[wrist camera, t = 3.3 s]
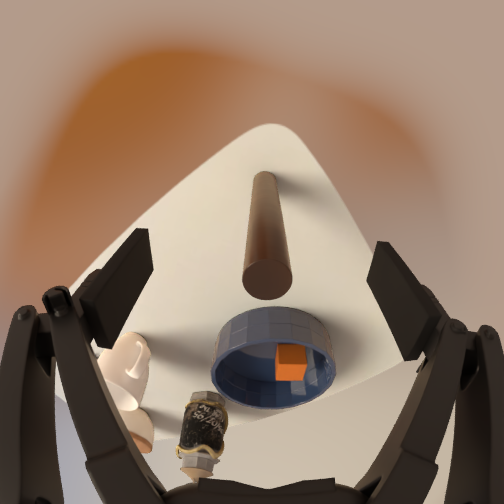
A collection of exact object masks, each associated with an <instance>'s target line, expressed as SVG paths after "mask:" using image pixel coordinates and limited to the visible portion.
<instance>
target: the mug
mask: <svg viewBox="0 0 504 504" xmlns="http://www.w3.org/2000/svg"><path fill="white" fill-rule="evenodd" d="M150 356H151V352H150V350H149V348H148V347H147V342H146V340H145V339H144V338H143V337H142V336H140V335H139V334H137V333H133V332H128V333H125V334H124V335H123V336H121V337H120V338H119V339H117V340H116V342H115V344H114V346H113V348H112V350H111V349H105V350H104V351H103V352H102V354H101V355H100V356H99V358H98V360H97V362H98V365H99V367H100V370H101V373H102V375H103V377H104V380H105V382H106V385H107V387H108V389H109V392H110V394H111V396H112V398H113V400H114V403H115V405H116V407H117V409H121V410H126V411H132V410H136V409H137V408H138V407H139V406H140V404H141V401H142V398H143V395H144V391H145V388H146V385H147V382H148V376H149V360H150Z"/></svg>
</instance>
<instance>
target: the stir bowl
mask: <svg viewBox="0 0 504 504" xmlns="http://www.w3.org/2000/svg"><path fill="white" fill-rule="evenodd" d="M278 344H300V345H304V346H305V351H306V358H307V367H306V371H305V374H304V377H303V380H302V381H280V380H276V376H275V358H276V352H277V346H278ZM335 376H336V368H335V361H334V356H333V352H332V347H331V343H330V338H329V335H328V333H327V331H326V329H325V327H324V326H323V325H322V324H321V322H320V321H318V320H317V319H316V318H315V317H313V316H311V315H310V314H308V313H305V312H303V311H300V310H297V309H293V308H288V307H262V308H257V309H253V310H250V311H246V312H244V313H242V314H239V315H238V316H236V317H234V318H233V319H231V320H230V321H229V322H227V323H226V324H225V325H224V326H223V328H222V329H221V331H220V332H219V335H218V337H217V341H216V343H215V349H214V354H213V360H212V366H211V379H212V383H213V384H214V386H215V387H216V389H217V390H218V392H220V393H221V394H222V395H224V396H225V397H226V398H228V399H229V400H231V401H233V402H236V403H238V404H241V405H243V406H247V407H252V408H257V409H284V408H291V407H295V406H298V405H301V404H304V403H307V402H310V401H312V400H313V399H315V398H317V397H319V396H320V395H322V394H323V393H324V392H325V391H326V390H327V389H328V388H329V387H330V386H331V385H332V382H333V380H334V378H335Z"/></svg>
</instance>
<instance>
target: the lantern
mask: <svg viewBox="0 0 504 504" xmlns="http://www.w3.org/2000/svg"><path fill="white" fill-rule="evenodd" d="M224 406H225V401H224V400H223V399H222V398H221V397H220V396H219V395H218V394H215V393H212V392H208V391H204V392H196V393H193V394H192V396H191V399H190V402H189V403H188V404H187V405H186V406H185V408H186V410H185V413H184V419H183V425H182V431H181V437H180V443H179V445H177V447H176V455H177V457H179V458H180V459H182V458H183V466H182V468H180V470H182V471H183V472H184V473H186V474H187V475H188V476H189V477H190V478H191V479H192V480H193V483H195V482H197V483H198V481H199V477H201V478H207V477H210V476H213V473H212V471H213V466H214V464H217V463H218V462H220V460H218V459H217V458H218V457H219V456H221V454H222V453H223V450H224V441H223V436H224V434H225V432H226V430H227V426H228V415H227V412H226V409H225V408H224ZM179 450H180V451H181V452H180V453H179ZM188 484H192V483H188Z"/></svg>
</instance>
